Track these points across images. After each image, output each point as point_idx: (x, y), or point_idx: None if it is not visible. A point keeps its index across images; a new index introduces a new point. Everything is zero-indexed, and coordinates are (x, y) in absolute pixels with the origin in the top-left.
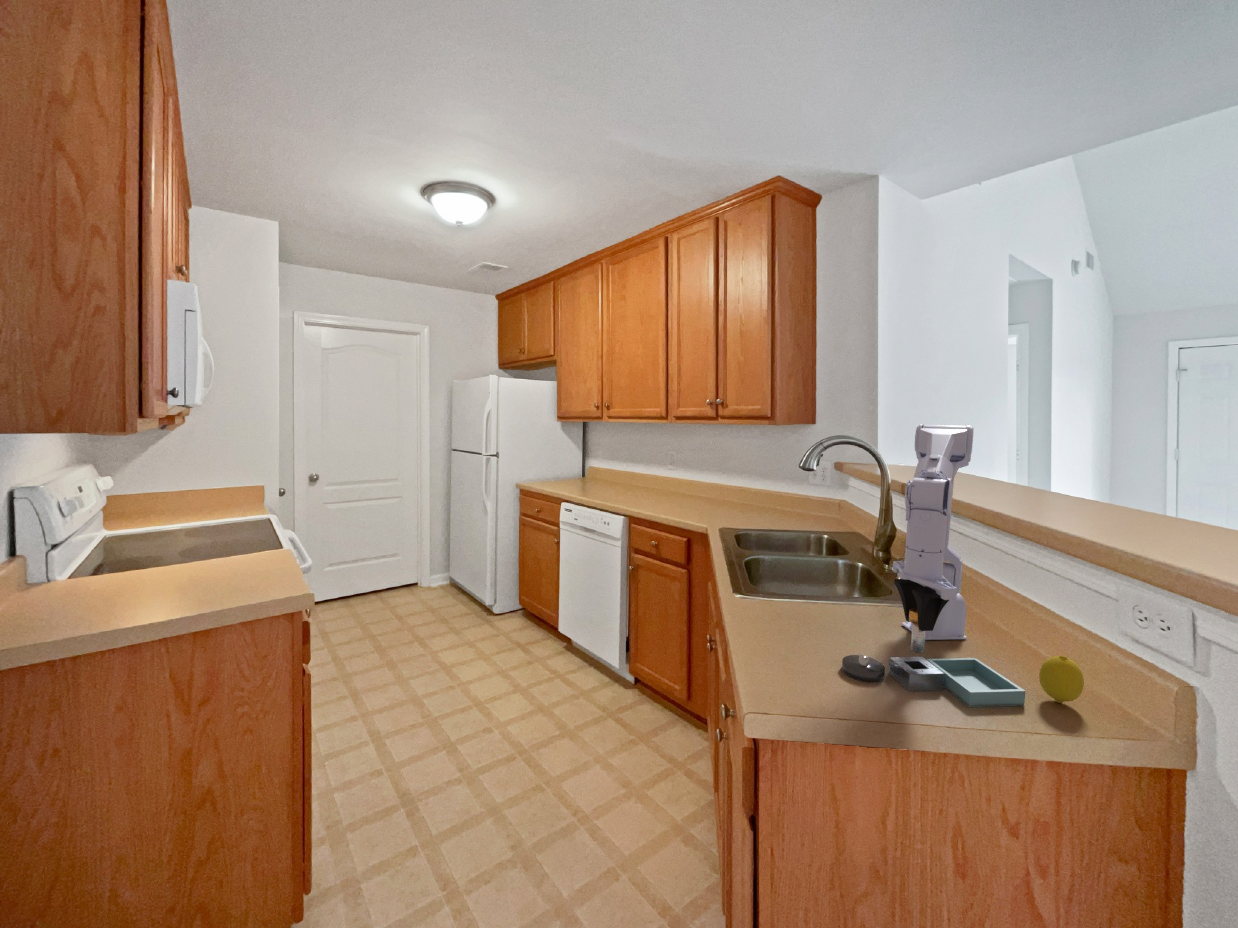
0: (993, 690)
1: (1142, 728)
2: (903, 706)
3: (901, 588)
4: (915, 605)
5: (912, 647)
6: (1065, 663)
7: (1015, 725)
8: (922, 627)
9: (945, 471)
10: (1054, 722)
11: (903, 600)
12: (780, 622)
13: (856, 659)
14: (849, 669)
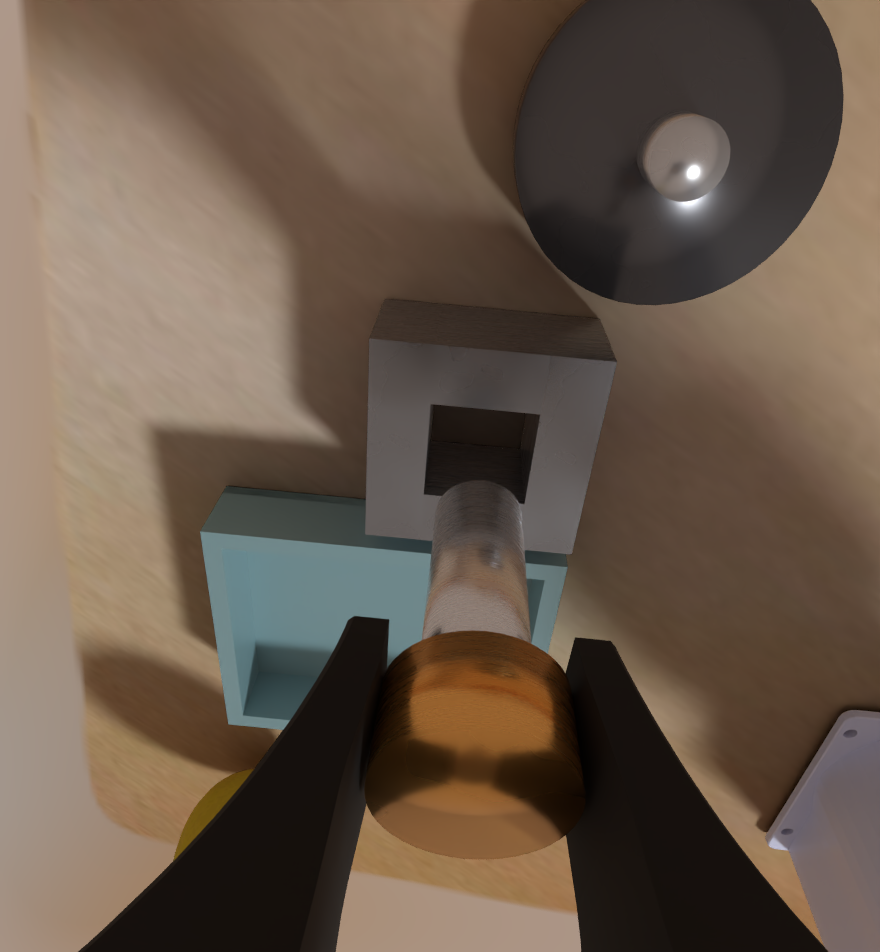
0: (225, 628)
1: (138, 829)
2: (216, 143)
3: None
4: (590, 849)
5: (477, 495)
6: None
7: (99, 552)
8: (337, 645)
9: None
10: (141, 676)
11: (672, 829)
12: None
13: (756, 136)
14: None
